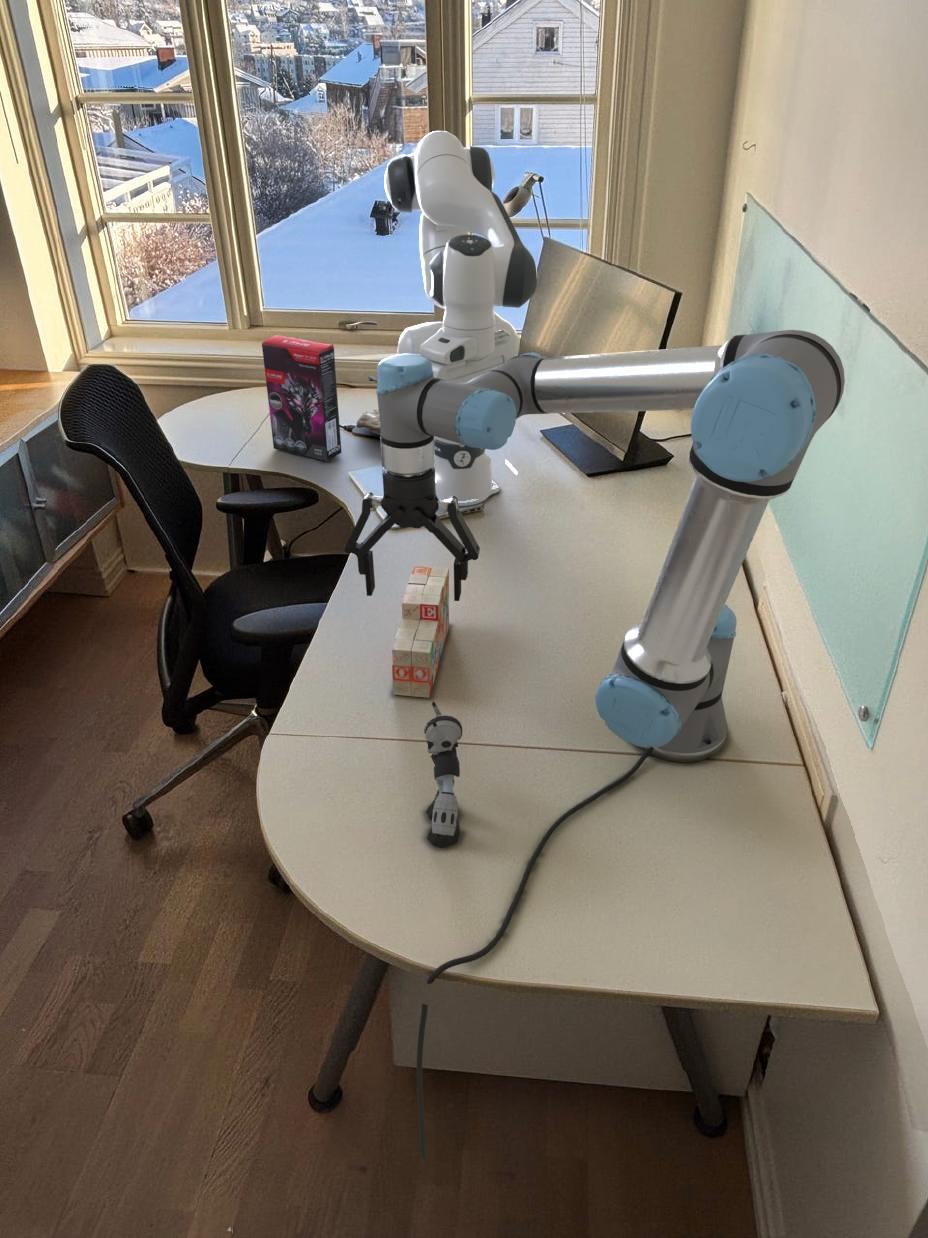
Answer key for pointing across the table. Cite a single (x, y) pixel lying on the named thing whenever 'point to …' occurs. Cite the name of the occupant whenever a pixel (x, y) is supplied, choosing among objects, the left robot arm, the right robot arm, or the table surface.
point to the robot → (443, 777)
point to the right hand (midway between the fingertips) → (414, 594)
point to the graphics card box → (302, 396)
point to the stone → (370, 421)
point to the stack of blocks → (421, 632)
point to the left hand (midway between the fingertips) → (468, 417)
